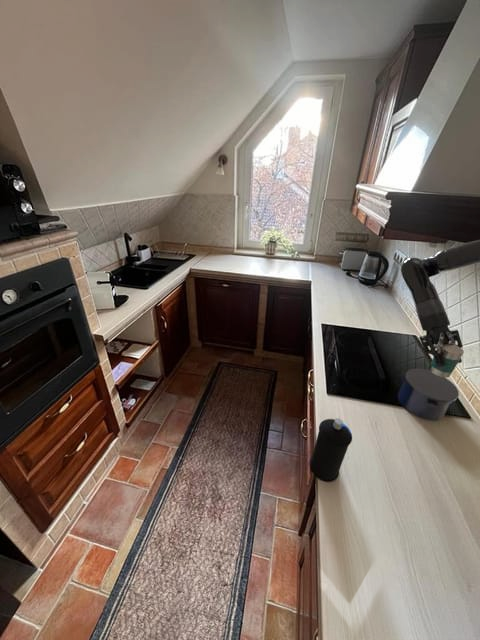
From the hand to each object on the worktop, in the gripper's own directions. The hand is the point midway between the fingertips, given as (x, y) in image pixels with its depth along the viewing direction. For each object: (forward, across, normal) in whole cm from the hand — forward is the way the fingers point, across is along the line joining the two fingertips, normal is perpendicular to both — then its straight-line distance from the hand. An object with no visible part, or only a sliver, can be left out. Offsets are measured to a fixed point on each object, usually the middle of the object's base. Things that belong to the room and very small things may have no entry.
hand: (450, 364), depth 80 cm
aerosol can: (+22, -46, +10) cm, 52 cm away
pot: (+13, +2, +18) cm, 23 cm away
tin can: (+2, 0, +4) cm, 5 cm away
